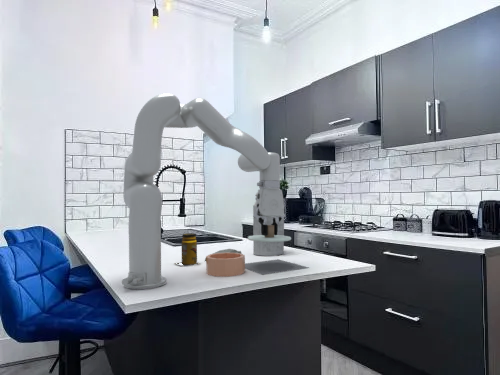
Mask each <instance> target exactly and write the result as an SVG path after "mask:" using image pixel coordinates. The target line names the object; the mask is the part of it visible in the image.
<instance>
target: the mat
mask: <svg viewBox="0 0 500 375" xmlns="http://www.w3.org/2000/svg"><path fill="white" fill-rule="evenodd" d="M304 269H310V267H309V266H304V265H300V264H297V263H294V262H290V261H288V260H287V261H285V260H283V259H278V258H277V259H271V260H270V259H268V260H263V261H262V260H261V261H255V262H254V261H253V262H247V263H246V262H245V270H247V271H251V272H253V273H256V274H258V275H262V276H264V275H271V274H278V273H283V272H291V271H292V272H293V271H297V270H304Z"/></svg>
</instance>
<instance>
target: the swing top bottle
mask: <svg viewBox="0 0 500 375" xmlns="http://www.w3.org/2000/svg"><path fill="white" fill-rule="evenodd" d="M257 193H258V191H257V192H256V193H255V194H254V195H255V196H254V197H255V200H256V199H257ZM252 206H253V208H252V209H253V210H252V211H253V212H252V214H253V215H254V213H255V211H256V201H255V202H254V204H253V205H252ZM253 215H252V219H253V224H252V225H253V231H252V232H253V235H262V233H261V224H260V223H259V221H258V220H257V219H255V218H254V217H253ZM259 217H261V216H259ZM278 217H279V216H278ZM271 224H273V223H272V216H267V222H266V225H271ZM253 235H252V236H253ZM277 235H283V236H285V217H284V218H283V219H281V221H280V222H279V224H278V232H277ZM252 242H253V244H252V246H253V255H255V256H262V257H266V256H267V257H273V256H282V255H283V254H284V253H285V246H284V245H285V241H283V242H260V241H252Z"/></svg>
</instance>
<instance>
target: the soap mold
mask: <svg viewBox="0 0 500 375" xmlns="http://www.w3.org/2000/svg"><path fill="white" fill-rule="evenodd" d="M215 253H240V254H243V253H242V251H241V250H237V249H234V248H226V249H221V250H217V251H215V252H213V253H212V254H215ZM205 261H206V257H205V259H204V262H205Z"/></svg>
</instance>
